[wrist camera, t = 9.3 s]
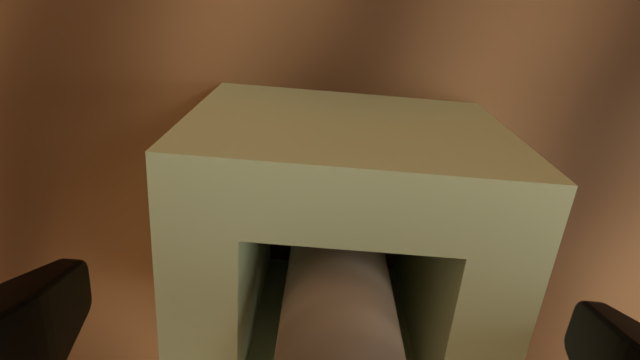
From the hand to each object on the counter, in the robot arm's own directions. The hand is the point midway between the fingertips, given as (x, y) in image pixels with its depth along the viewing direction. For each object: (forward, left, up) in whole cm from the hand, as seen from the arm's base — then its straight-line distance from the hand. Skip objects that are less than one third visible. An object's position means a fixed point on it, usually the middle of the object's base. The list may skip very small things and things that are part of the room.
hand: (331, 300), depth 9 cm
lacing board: (0, 0, -5) cm, 5 cm away
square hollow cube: (0, 0, -4) cm, 4 cm away
